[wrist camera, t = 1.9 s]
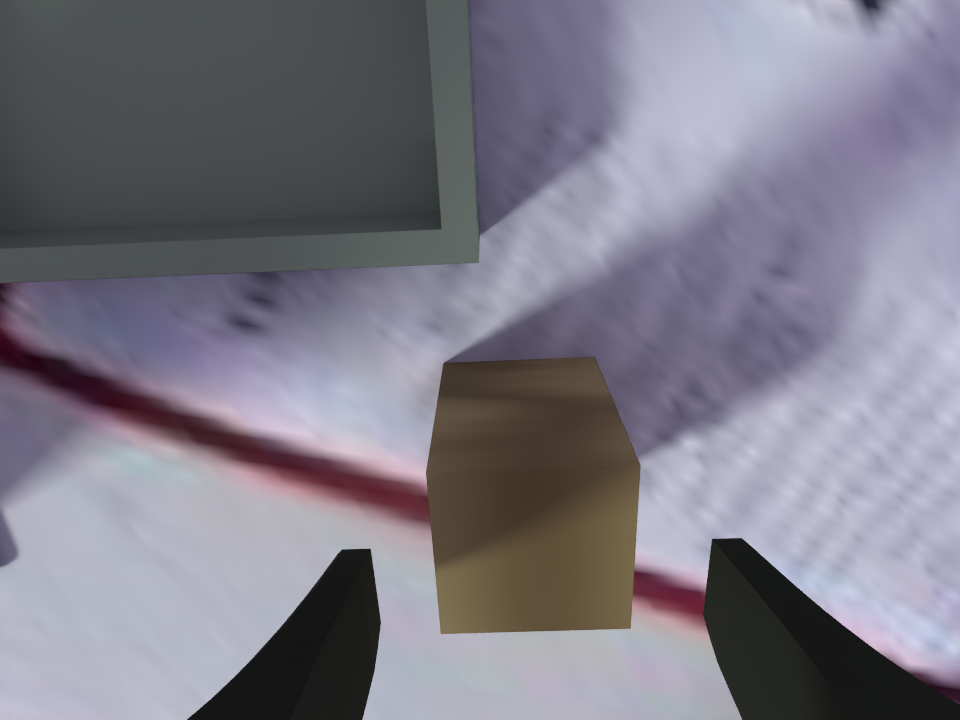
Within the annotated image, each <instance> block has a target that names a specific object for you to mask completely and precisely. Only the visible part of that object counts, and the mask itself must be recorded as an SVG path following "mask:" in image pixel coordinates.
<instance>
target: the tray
mask: <svg viewBox="0 0 960 720" xmlns="http://www.w3.org/2000/svg"><path fill="white" fill-rule="evenodd" d="M479 241H480V232H479V210H478V188H477V166H476V144H475V122H474V100H473V78H472V56H471V34H470V12H469V0H0V283H15V282H38V281H62V280H85V279H109V278H132V277H155V276H179V275H202V274H226V273H249V272H273V271H296V270H320V269H343V268H366V267H390V266H413V265H437V264H460V263H479Z"/></svg>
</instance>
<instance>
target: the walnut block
mask: <svg viewBox="0 0 960 720" xmlns="http://www.w3.org/2000/svg"><path fill="white" fill-rule="evenodd" d="M426 477H427V488H428V499H429V509H430V520H431V531H432V542H433V553H434V564H435V575H436V585H437V596H438V607H439V618H440V629H441V634H455V633H491V632H527V631H562V630H598V629H631V613H632V596H633V580H634V563H635V547H636V530H637V514H638V498H639V481H640V463H639V461H638V458H637V456H636V454H635V451H634V449H633V447H632V444H631V442H630V440H629V437H628V435H627V432H626V430H625V428H624V425H623V423H622V421H621V418H620V416H619V413H618V411H617V409H616V406H615V404H614V402H613V399H612V397H611V394H610V392H609V390H608V387H607V385H606V383H605V380H604V378H603V375H602V373H601V371H600V368H599V366H598V364H597V361H596V359H595V357H585V358H559V359H534V360H508V361H483V362H457V363H444V364H443V370H442V376H441V382H440V389H439V395H438V401H437V408H436V414H435V420H434V427H433V433H432V439H431V445H430V452H429V458H428V464H427V471H426Z"/></svg>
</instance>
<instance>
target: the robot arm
mask: <svg viewBox="0 0 960 720" xmlns="http://www.w3.org/2000/svg"><path fill="white" fill-rule="evenodd" d="M703 615H704V619H705V622H706V626H707V629H708V633H709V636H710V640H711V643H712V646H713V649H714V652H715V656H716V659H717V662H718V664H719V667H720V669H721V671H722V674H723V676H724V678H725V681H726V683H727V685H728V688H729V690H730V692H731V695H732V697H733V699H734V701H735V704H736V706H737V708H738V711H739V713H740V715H741V717H742V720H960V705H959V704H957V703H955V702H954V701H952V700H950V699H948V698H947V697H945V696H944V695H942V694H940V693H939V692H937V691H936V690H934V689H932V688H931V687H929V686H928V685H926V684H924V683H923V682H921V681H920V680H918V679H917V678H915V677H914V676H913V675H911V674H910V673H908V672H907V671H905V670H904V669H902V668H901V667H899V666H898V665H896V664H895V663H893V662H892V661H890V660H889V659H887V658H886V657H885V656H883V655H882V654H880V653H879V652H878V651H876V650H875V649H873V648H872V647H871V646H869V645H868V644H867V643H865V642H864V641H863V640H861V639H860V638H859V637H858V636H856V635H855V634H854V633H852V632H851V631H850V630H848V629H847V628H846V627H844V626H843V625H842V624H841V623H839V622H838V621H837V620H836V619H834V618H833V617H832V616H831V615H829V614H828V613H827V612H826V611H824V610H823V609H822V608H821V607H820V606H818V605H817V604H816V603H815V602H814V601H812V600H811V599H810V598H809V597H808V596H807V595H805V594H804V593H803V592H802V591H801V590H800V589H798V588H797V587H796V586H795V585H794V584H793V583H792V582H790V581H789V580H788V579H787V578H786V577H785V576H784V575H782V574H781V573H780V572H779V571H778V570H777V569H776V568H775V567H774V566H772V565H771V564H770V563H769V562H768V561H767V560H766V559H765V558H764V557H762V556H761V555H760V554H759V553H758V552H757V551H756V550H755V549H753V548H752V547H751V546H750V545H749V544H748V543H747V542H745V541H744V540H743V539H742V538H731V539H712V545H711V553H710V561H709V570H708V578H707V587H706V595H705V603H704V612H703ZM380 625H381V620H380V613H379V606H378V599H377V591H376V584H375V577H374V570H373V563H372V556H371V549H347V550H341V551H340V552H339V553H338V554H337V556H336V557H335V559H334V560H333V561H332V563H331V564H330V565H329V567H328V568H327V569H326V571H325V572H324V573H323V575H322V576H321V577H320V579H319V580H318V581H317V583H316V584H315V585H314V587H313V588H312V589H311V591H310V592H309V593H308V594H307V596H306V597H305V598H304V600H303V601H302V602H301V603H300V604H299V606H298V607H297V608H296V609H295V611H294V612H293V613H292V614H291V615H290V617H289V618H288V619H287V620H286V622H285V623H284V624H283V625H282V626H281V627H280V629H279V630H278V631H277V632H276V633H275V634H274V635H273V636H272V638H271V639H270V640H269V641H268V642H267V643H266V644H265V645H264V646H263V648H262V649H261V650H260V651H259V652H258V653H257V654H256V655H255V656H254V657H253V659H252V660H251V661H250V662H249V663H248V664H247V665H246V666H245V667H244V668H243V669H242V670H241V671H240V672H239V673H238V674H237V675H236V676H235V677H234V678H233V679H232V680H231V681H230V682H229V683H228V684H227V685H226V686H224V687H223V688H222V689H221V690H220V691H219V692H218V693H217V694H216V695H215V696H214V697H213V698H212V699H211V700H209V701H208V702H207V703H206V704H205V705H204V706H203V707H201V708H200V709H199V710H198V711H197V712H196V713H194V714H193V715H192V716H191V717H190V718H188V719H187V720H362V719H363V715H364V711H365V707H366V703H367V699H368V695H369V691H370V687H371V683H372V678H373V674H374V670H375V663H376V656H377V649H378V641H379V633H380Z"/></svg>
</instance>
